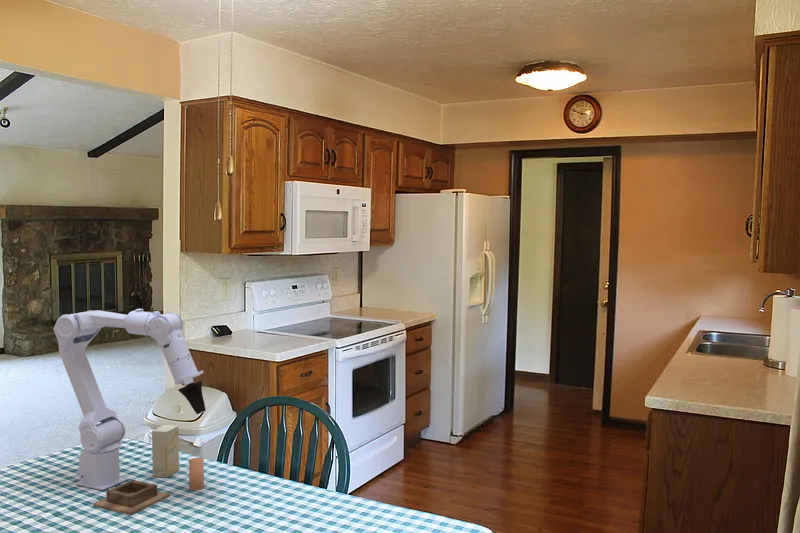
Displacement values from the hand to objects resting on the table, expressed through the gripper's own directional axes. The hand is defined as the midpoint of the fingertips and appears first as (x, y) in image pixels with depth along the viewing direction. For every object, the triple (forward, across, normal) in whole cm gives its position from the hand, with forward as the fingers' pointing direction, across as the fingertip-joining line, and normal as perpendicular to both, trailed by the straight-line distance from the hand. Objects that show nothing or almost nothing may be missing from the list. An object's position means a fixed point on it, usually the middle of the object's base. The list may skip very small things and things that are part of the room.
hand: (201, 412), depth 160 cm
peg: (+17, +11, +8) cm, 21 cm away
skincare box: (+12, +23, +14) cm, 29 cm away
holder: (+13, +6, +22) cm, 26 cm away
